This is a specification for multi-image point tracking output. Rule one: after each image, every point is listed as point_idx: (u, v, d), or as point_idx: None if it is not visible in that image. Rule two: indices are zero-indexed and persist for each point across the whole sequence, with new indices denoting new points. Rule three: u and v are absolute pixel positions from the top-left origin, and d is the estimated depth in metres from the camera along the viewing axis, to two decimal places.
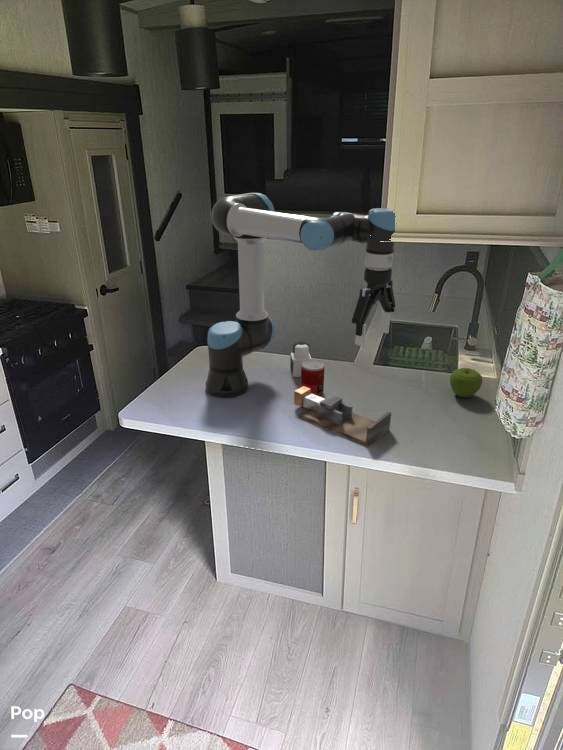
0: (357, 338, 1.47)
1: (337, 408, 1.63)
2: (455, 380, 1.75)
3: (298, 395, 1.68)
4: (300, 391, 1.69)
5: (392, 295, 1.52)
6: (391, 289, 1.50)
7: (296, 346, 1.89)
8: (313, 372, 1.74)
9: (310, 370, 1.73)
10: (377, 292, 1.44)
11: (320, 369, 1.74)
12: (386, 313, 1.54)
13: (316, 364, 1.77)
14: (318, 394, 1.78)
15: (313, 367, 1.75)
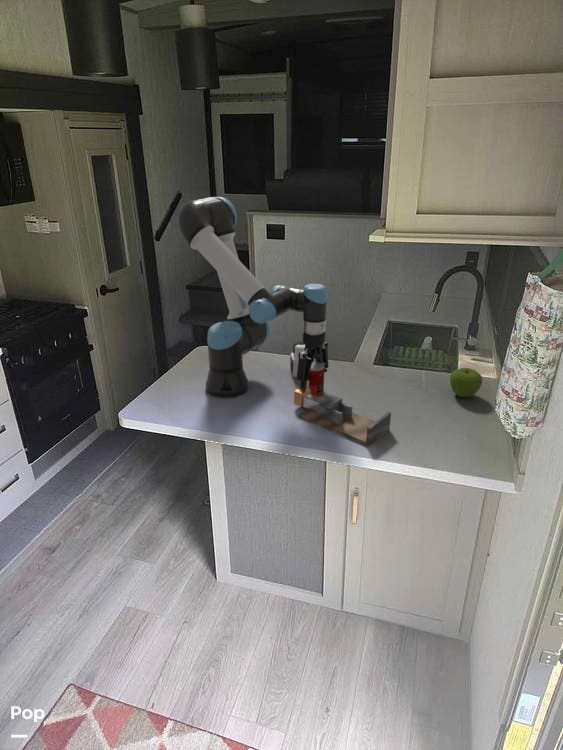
0: None
1: (337, 408, 1.63)
2: (455, 380, 1.75)
3: (298, 395, 1.68)
4: (300, 391, 1.69)
5: (326, 356, 1.79)
6: (326, 350, 1.78)
7: (296, 346, 1.89)
8: (314, 372, 1.74)
9: (310, 370, 1.73)
10: (313, 352, 1.72)
11: (320, 369, 1.74)
12: None
13: (316, 364, 1.77)
14: (318, 394, 1.78)
15: (313, 367, 1.75)
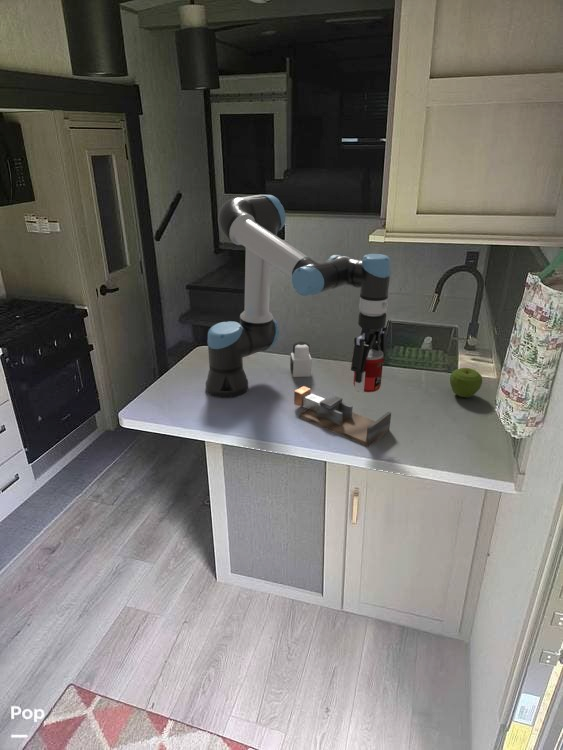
0: (356, 384, 1.48)
1: (337, 408, 1.63)
2: (455, 380, 1.75)
3: (298, 395, 1.68)
4: (300, 391, 1.69)
5: (384, 343, 1.50)
6: (384, 336, 1.49)
7: (296, 346, 1.89)
8: (372, 362, 1.44)
9: (367, 358, 1.44)
10: (371, 338, 1.43)
11: (379, 358, 1.45)
12: None
13: (373, 352, 1.48)
14: (375, 388, 1.49)
15: (370, 355, 1.46)
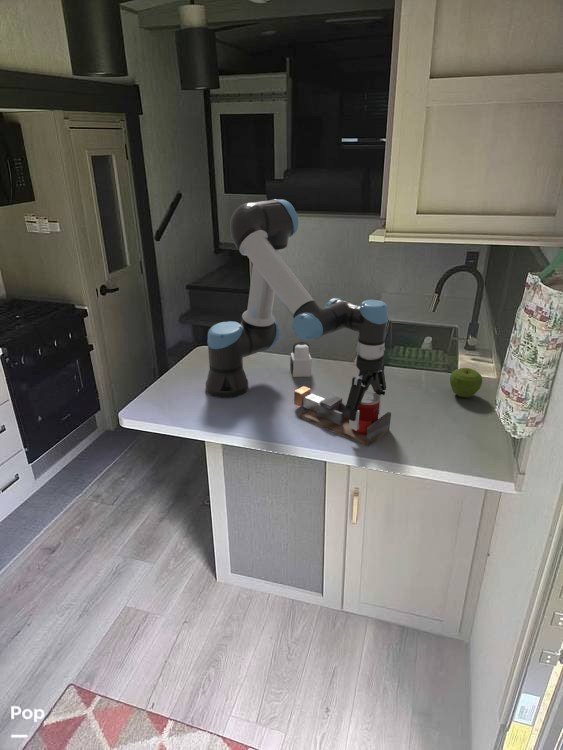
0: (350, 422, 1.52)
1: (337, 408, 1.63)
2: (455, 380, 1.75)
3: (298, 395, 1.68)
4: (300, 391, 1.69)
5: (383, 378, 1.56)
6: (382, 373, 1.54)
7: (296, 346, 1.89)
8: (368, 407, 1.50)
9: (364, 403, 1.50)
10: (369, 379, 1.48)
11: (376, 403, 1.51)
12: None
13: (370, 396, 1.54)
14: None
15: (367, 400, 1.52)
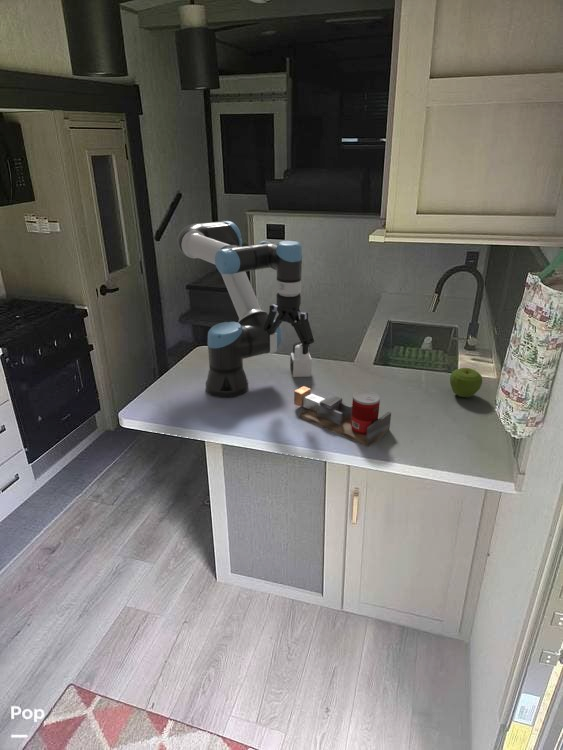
0: None
1: (337, 408, 1.63)
2: (455, 380, 1.75)
3: (298, 395, 1.68)
4: (300, 391, 1.69)
5: (304, 329, 1.59)
6: (302, 322, 1.58)
7: (296, 346, 1.89)
8: (368, 407, 1.50)
9: (364, 403, 1.50)
10: None
11: (376, 403, 1.51)
12: None
13: (370, 396, 1.54)
14: None
15: (367, 400, 1.52)
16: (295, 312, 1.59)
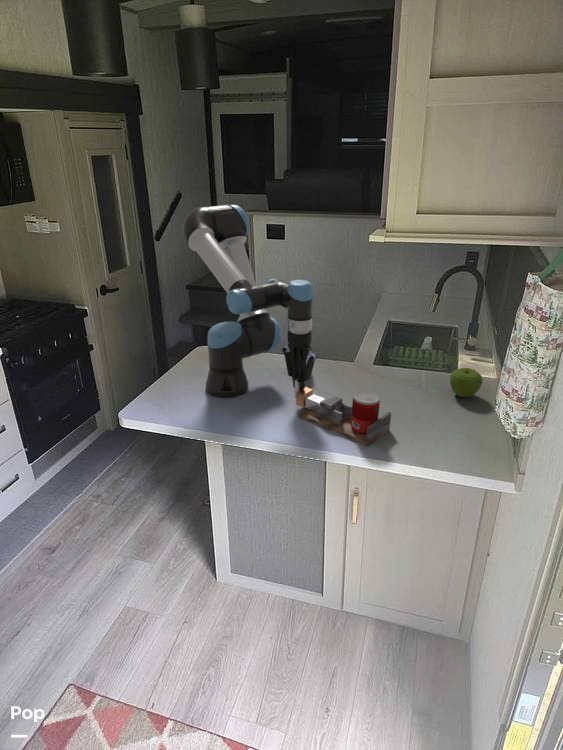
0: None
1: (339, 409, 1.63)
2: (455, 380, 1.75)
3: (300, 396, 1.68)
4: (302, 392, 1.68)
5: (306, 368, 1.63)
6: (308, 363, 1.62)
7: None
8: (368, 407, 1.50)
9: (364, 403, 1.50)
10: None
11: (376, 403, 1.51)
12: None
13: (370, 396, 1.54)
14: None
15: (367, 400, 1.52)
16: (307, 351, 1.61)
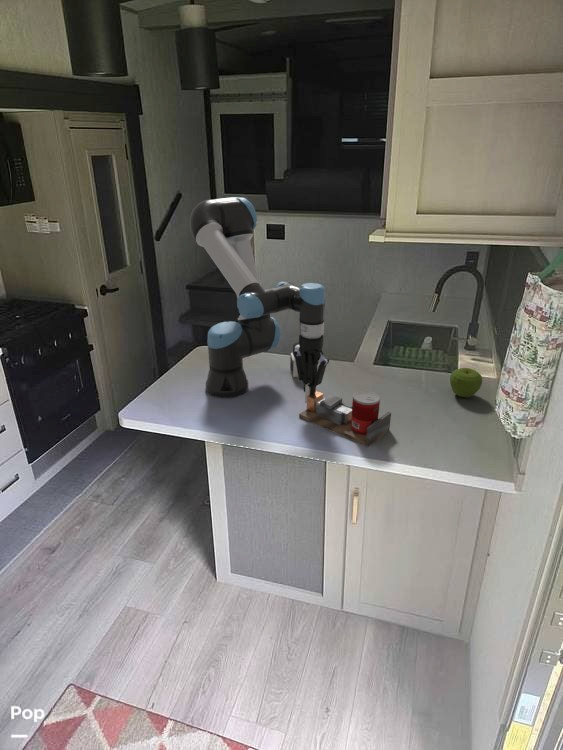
0: None
1: (351, 413, 1.60)
2: (455, 380, 1.75)
3: (311, 400, 1.65)
4: (313, 396, 1.66)
5: (318, 373, 1.61)
6: (320, 367, 1.60)
7: (296, 346, 1.89)
8: (368, 407, 1.50)
9: (364, 403, 1.50)
10: None
11: (376, 403, 1.51)
12: None
13: (370, 396, 1.54)
14: None
15: (367, 400, 1.52)
16: (318, 355, 1.59)
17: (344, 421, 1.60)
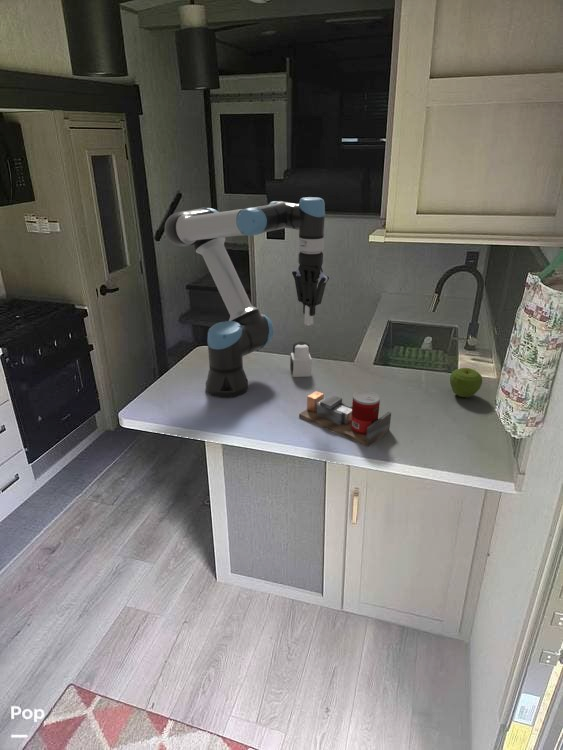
0: None
1: (351, 414, 1.60)
2: (455, 380, 1.75)
3: (311, 400, 1.65)
4: (313, 396, 1.65)
5: (317, 291, 1.59)
6: (319, 285, 1.58)
7: (296, 346, 1.89)
8: (368, 407, 1.50)
9: (364, 403, 1.50)
10: None
11: (376, 403, 1.51)
12: None
13: (370, 396, 1.54)
14: None
15: (367, 400, 1.52)
16: (318, 272, 1.57)
17: (344, 421, 1.60)
